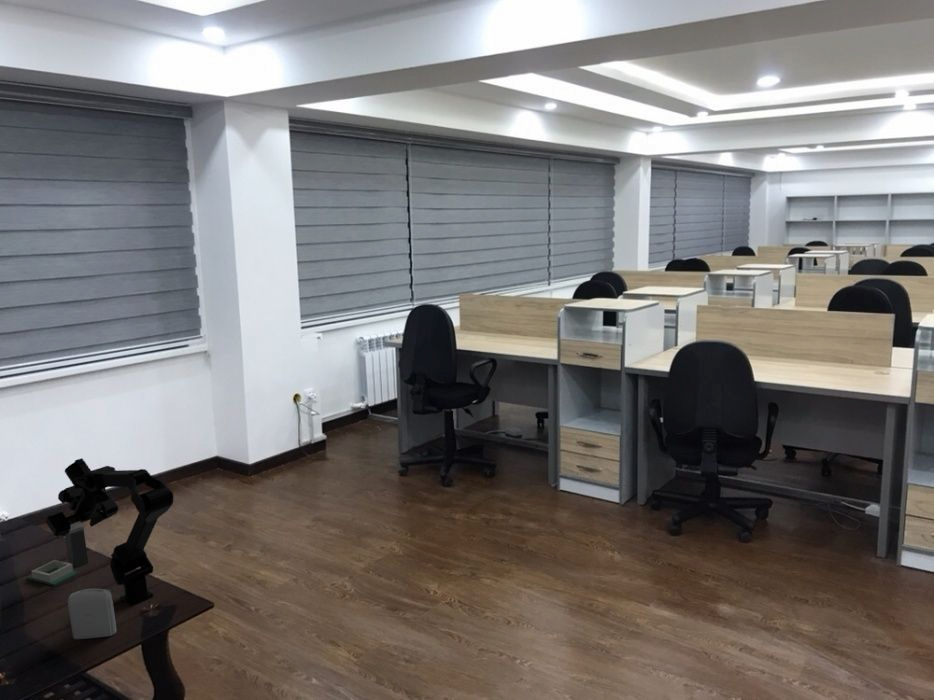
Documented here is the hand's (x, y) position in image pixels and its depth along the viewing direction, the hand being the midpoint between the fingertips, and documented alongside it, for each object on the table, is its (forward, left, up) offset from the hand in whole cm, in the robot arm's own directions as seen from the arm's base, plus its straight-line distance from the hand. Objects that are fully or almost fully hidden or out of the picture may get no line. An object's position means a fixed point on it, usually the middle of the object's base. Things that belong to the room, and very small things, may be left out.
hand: (75, 531), depth 218 cm
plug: (+8, -3, -14) cm, 16 cm away
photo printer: (-36, +14, -14) cm, 41 cm away
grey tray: (+6, +6, -14) cm, 16 cm away
